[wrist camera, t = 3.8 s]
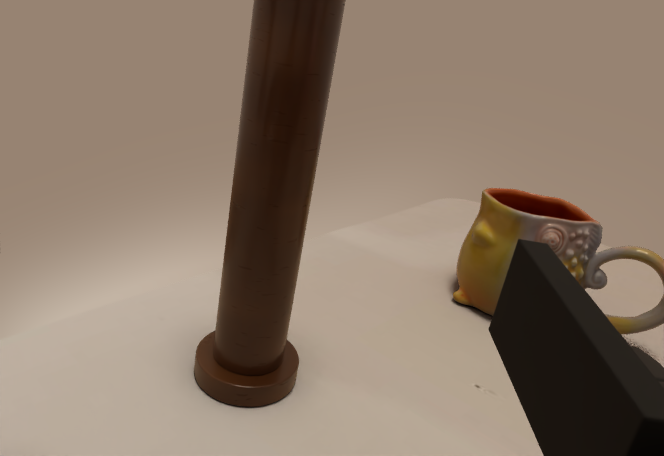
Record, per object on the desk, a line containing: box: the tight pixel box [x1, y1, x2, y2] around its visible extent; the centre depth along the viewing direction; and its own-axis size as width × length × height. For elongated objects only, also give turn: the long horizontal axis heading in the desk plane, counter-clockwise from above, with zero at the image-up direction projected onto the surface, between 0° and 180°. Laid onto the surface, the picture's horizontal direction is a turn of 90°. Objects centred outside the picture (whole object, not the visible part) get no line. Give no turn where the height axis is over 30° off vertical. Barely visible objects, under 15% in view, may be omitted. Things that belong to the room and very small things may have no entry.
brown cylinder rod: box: [194, 0, 345, 407], centre depth 22 cm, size 4×4×16 cm
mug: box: [453, 188, 664, 334], centre depth 34 cm, size 12×7×7 cm, turn 57°
